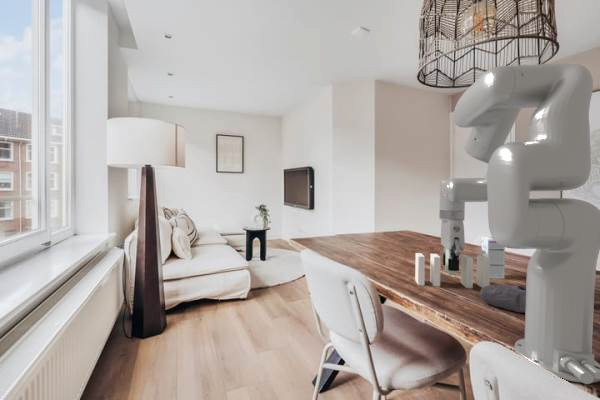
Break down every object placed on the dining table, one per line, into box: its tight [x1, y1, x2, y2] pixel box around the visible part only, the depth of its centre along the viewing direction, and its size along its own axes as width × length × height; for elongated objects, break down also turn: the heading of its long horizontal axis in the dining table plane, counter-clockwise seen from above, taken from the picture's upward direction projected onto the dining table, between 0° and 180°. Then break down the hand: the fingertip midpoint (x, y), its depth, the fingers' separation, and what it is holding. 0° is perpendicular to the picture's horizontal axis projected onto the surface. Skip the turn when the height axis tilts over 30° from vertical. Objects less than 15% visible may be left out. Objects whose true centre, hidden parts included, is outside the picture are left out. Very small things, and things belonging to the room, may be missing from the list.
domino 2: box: [429, 253, 442, 287], centre depth 97 cm, size 5×2×10 cm, turn 169°
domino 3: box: [444, 248, 457, 276], centre depth 96 cm, size 5×2×10 cm, turn 169°
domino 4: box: [460, 254, 474, 289], centre depth 95 cm, size 5×2×10 cm, turn 169°
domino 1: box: [414, 252, 426, 286], centre depth 98 cm, size 5×2×10 cm, turn 169°
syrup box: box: [481, 236, 506, 280], centre depth 104 cm, size 6×6×14 cm
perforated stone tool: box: [479, 284, 526, 314], centre depth 77 cm, size 15×5×7 cm, turn 51°
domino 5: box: [475, 254, 491, 289], centre depth 94 cm, size 5×2×10 cm, turn 169°
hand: (450, 267), depth 96 cm, fingers closed on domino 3, 4 cm apart
